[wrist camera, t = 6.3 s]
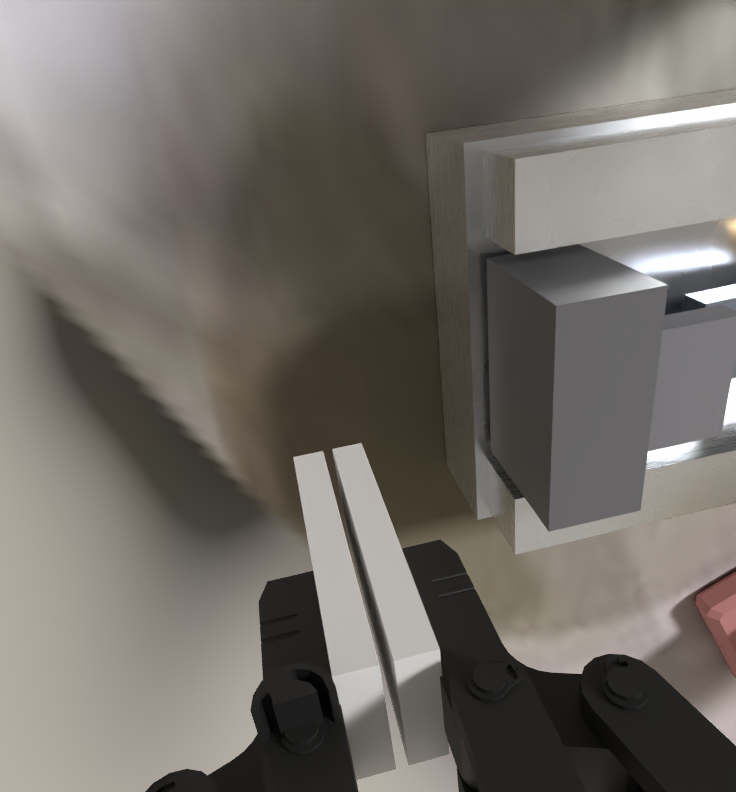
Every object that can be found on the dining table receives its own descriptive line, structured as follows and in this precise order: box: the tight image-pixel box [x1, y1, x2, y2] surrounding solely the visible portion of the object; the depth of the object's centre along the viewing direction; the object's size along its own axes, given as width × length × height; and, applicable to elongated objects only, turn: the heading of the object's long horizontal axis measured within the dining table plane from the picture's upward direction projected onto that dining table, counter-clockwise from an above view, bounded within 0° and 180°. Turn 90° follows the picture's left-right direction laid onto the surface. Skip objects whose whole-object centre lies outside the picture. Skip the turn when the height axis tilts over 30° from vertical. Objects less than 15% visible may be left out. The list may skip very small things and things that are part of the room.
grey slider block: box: [486, 244, 736, 532], centre depth 19 cm, size 7×6×5 cm
